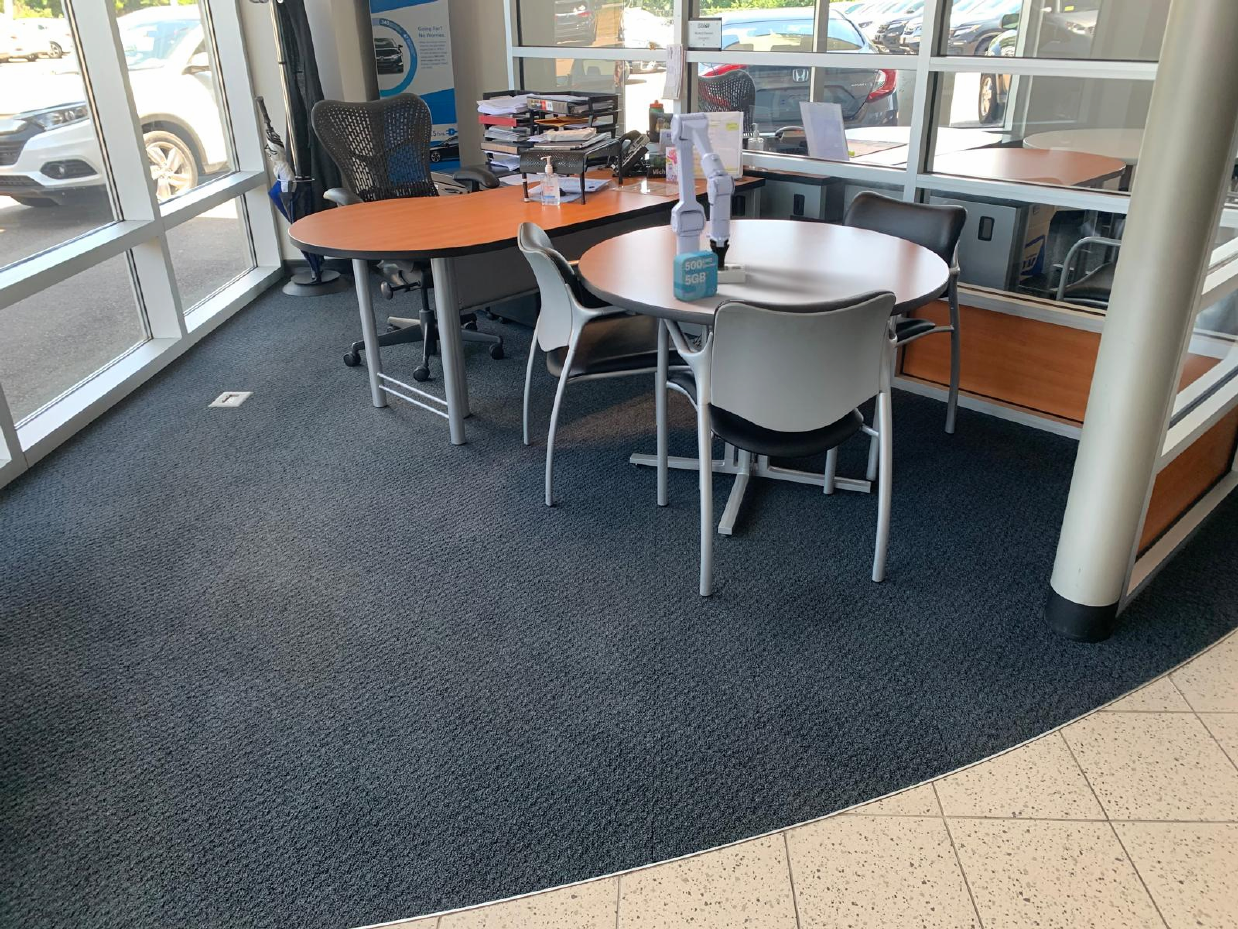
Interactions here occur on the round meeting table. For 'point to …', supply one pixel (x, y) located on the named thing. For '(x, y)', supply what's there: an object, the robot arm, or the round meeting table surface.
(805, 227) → the round meeting table surface
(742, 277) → the white socket board
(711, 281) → the data package
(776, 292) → the round meeting table surface
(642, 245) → the round meeting table surface
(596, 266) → the round meeting table surface
